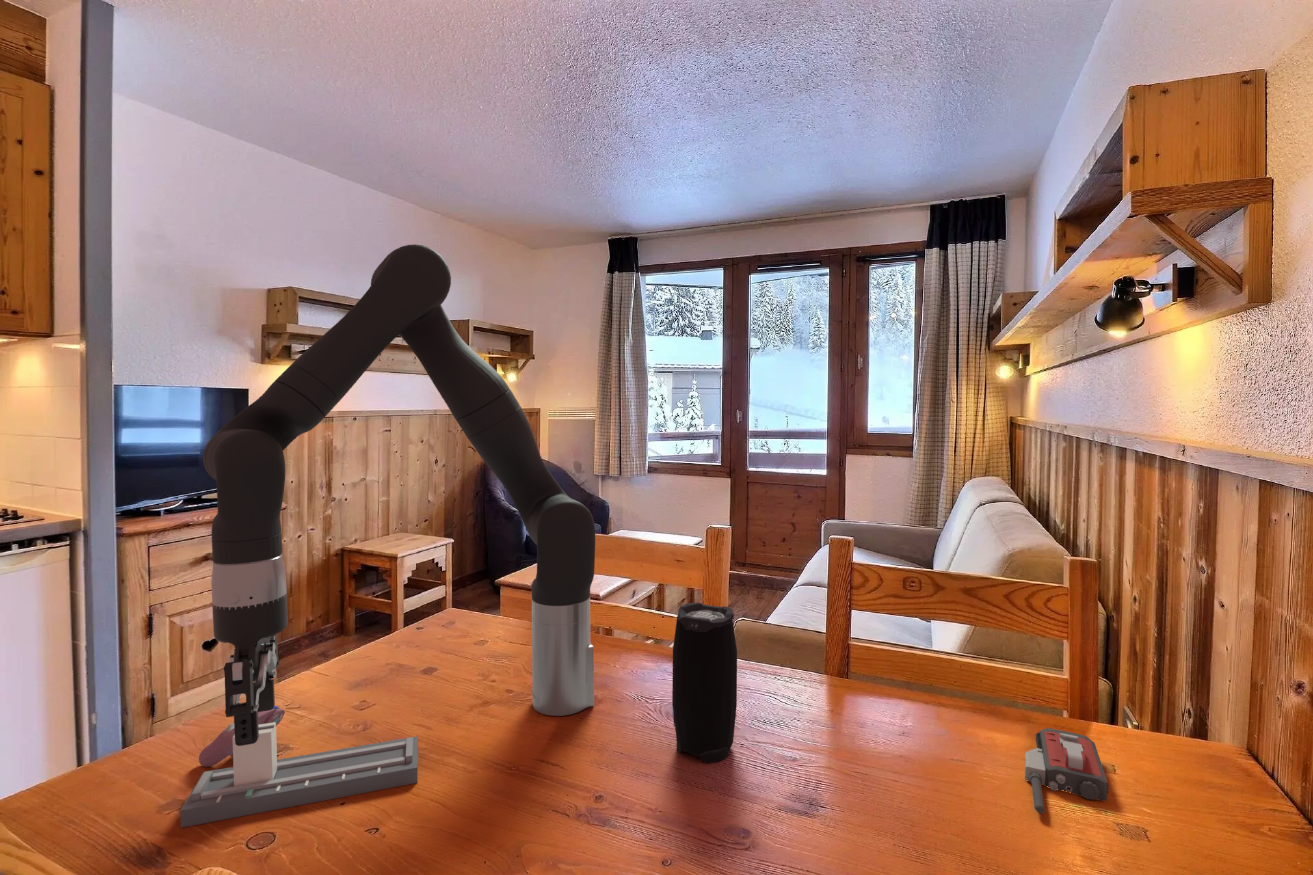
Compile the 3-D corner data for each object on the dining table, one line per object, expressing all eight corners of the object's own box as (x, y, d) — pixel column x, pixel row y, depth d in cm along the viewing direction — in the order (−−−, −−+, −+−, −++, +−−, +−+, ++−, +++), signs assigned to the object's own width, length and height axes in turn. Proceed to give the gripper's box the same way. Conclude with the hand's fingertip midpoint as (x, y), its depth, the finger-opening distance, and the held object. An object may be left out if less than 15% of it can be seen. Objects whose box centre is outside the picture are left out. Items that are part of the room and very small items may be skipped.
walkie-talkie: (1020, 739, 91) (1028, 819, 73) (1021, 709, 91) (1029, 782, 73) (1093, 755, 87) (1121, 843, 69) (1094, 724, 87) (1122, 805, 69)
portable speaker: (744, 739, 90) (746, 605, 89) (720, 773, 82) (722, 625, 81) (689, 725, 94) (690, 596, 93) (661, 756, 86) (662, 615, 85)
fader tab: (277, 768, 79) (276, 720, 79) (273, 779, 77) (271, 730, 76) (239, 775, 77) (237, 726, 77) (233, 786, 75) (232, 736, 75)
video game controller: (218, 783, 82) (237, 738, 81) (192, 764, 83) (210, 720, 82) (278, 743, 92) (295, 703, 91) (253, 726, 93) (271, 687, 92)
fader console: (418, 750, 87) (417, 730, 87) (417, 782, 80) (417, 761, 80) (204, 787, 79) (203, 765, 78) (180, 827, 71) (180, 803, 71)
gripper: (272, 608, 70) (279, 749, 71) (296, 576, 84) (301, 695, 85) (192, 617, 68) (200, 763, 69) (230, 582, 81) (236, 705, 82)
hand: (256, 725), depth 77 cm, fingers open, 8 cm apart
